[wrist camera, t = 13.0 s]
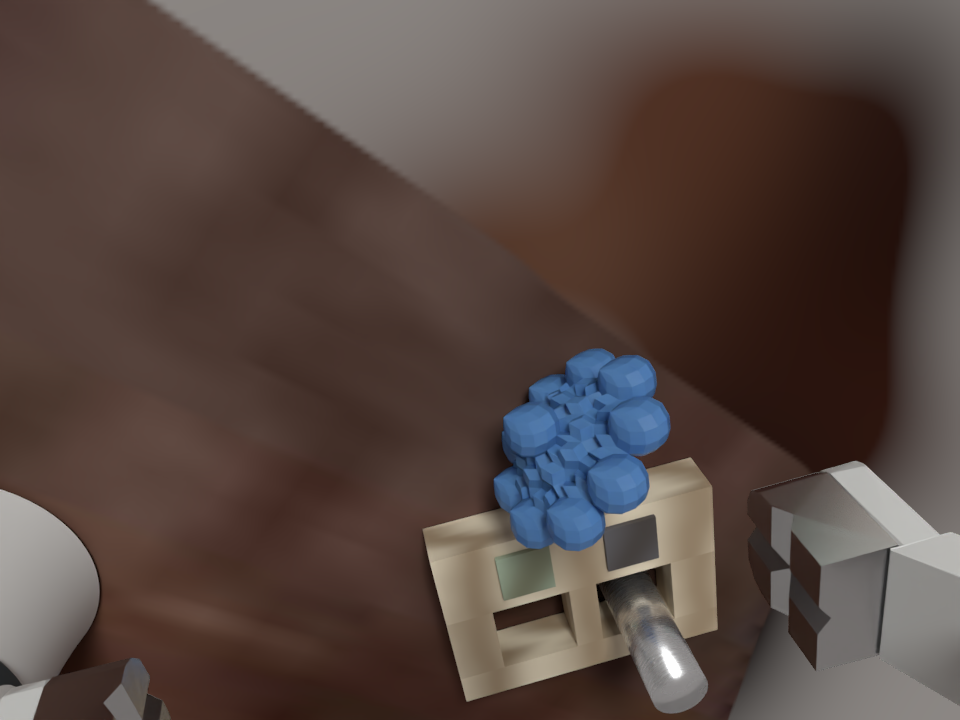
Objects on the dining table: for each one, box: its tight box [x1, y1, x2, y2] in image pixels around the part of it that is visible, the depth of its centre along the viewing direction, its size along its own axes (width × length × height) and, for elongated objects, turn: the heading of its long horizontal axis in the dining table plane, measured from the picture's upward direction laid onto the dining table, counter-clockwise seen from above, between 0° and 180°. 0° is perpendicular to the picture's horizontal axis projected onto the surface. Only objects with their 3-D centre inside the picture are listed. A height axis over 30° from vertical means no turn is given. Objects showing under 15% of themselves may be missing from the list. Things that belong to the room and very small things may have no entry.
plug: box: [598, 570, 708, 713], centre depth 50 cm, size 3×3×10 cm
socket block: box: [422, 458, 717, 701], centre depth 52 cm, size 17×12×3 cm
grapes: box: [494, 349, 670, 551], centre depth 41 cm, size 12×7×12 cm, turn 148°
